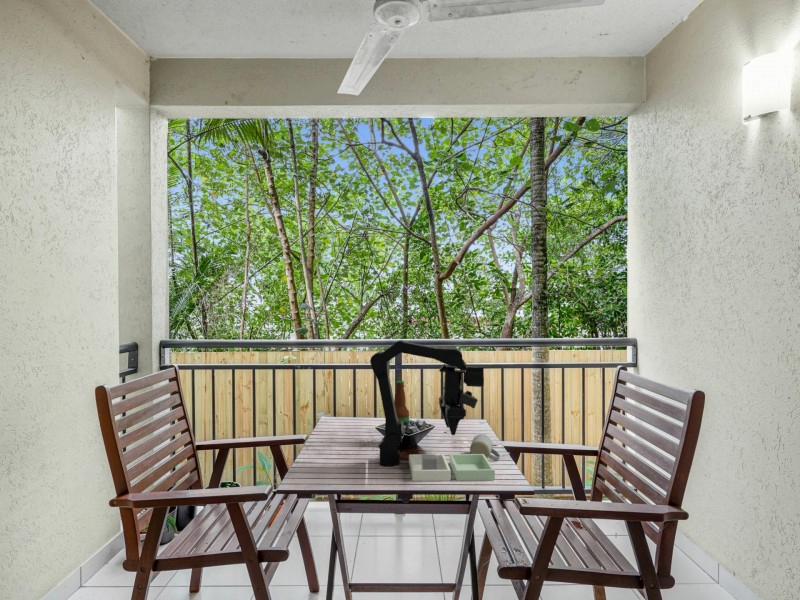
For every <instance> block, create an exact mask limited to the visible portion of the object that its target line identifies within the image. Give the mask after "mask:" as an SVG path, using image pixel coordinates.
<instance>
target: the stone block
mask: <svg viewBox="0 0 800 600" xmlns="http://www.w3.org/2000/svg"><path fill="white" fill-rule="evenodd" d="M421 470H437V458H436V456H435V453H434V454H433V455H422V465H421Z"/></svg>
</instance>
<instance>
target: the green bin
mask: <svg viewBox="0 0 800 600" xmlns="http://www.w3.org/2000/svg"><path fill="white" fill-rule="evenodd" d="M448 456H449V463H448V465H449V467H450V469H451V470H452V471H451V472H452V474H453V475H454V478H455V479H456V481H457V482H460V481H461V482H463V481H464V482H465V481H466V482H467V481H470V482H471V481H474V482H477V481H478V482H479V481H480V482H481V481H495V479H496V476H495V475H496V471H495V468H494V467H493V466H492V464H491V463H490V461H489V459H488V457H487V458H486V457H485V455H484V454H471V453H449V455H448Z"/></svg>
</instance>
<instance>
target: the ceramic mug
mask: <svg viewBox="0 0 800 600" xmlns="http://www.w3.org/2000/svg"><path fill="white" fill-rule="evenodd" d="M493 444H494V443H493V440H492V439H491V438H490V437H489V436H488V435H486V434H480V433H479V434H477V435H474V437H473V438H472V441H471V444H470V448H469V452H470V453H469V454H484V455H485V457H486V458H487V459H488V458H489V459H490V460H493V461H496V462H497V461H499V460H500V458H501V454H500V453H499V452H498V451H497V450H495V449H494V445H493Z"/></svg>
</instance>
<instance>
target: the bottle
mask: <svg viewBox="0 0 800 600" xmlns="http://www.w3.org/2000/svg"><path fill="white" fill-rule="evenodd" d="M395 383H396V384H395V393H394V404H395V409H396V414H397V417H398V419H399V421H401V420H403V422H404V429H405V430H406V431H407V430H408V429H409V430H410V411H409V409H408V407H407V406H406V393H405V381H404V380H397V381H396V382H395Z"/></svg>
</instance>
